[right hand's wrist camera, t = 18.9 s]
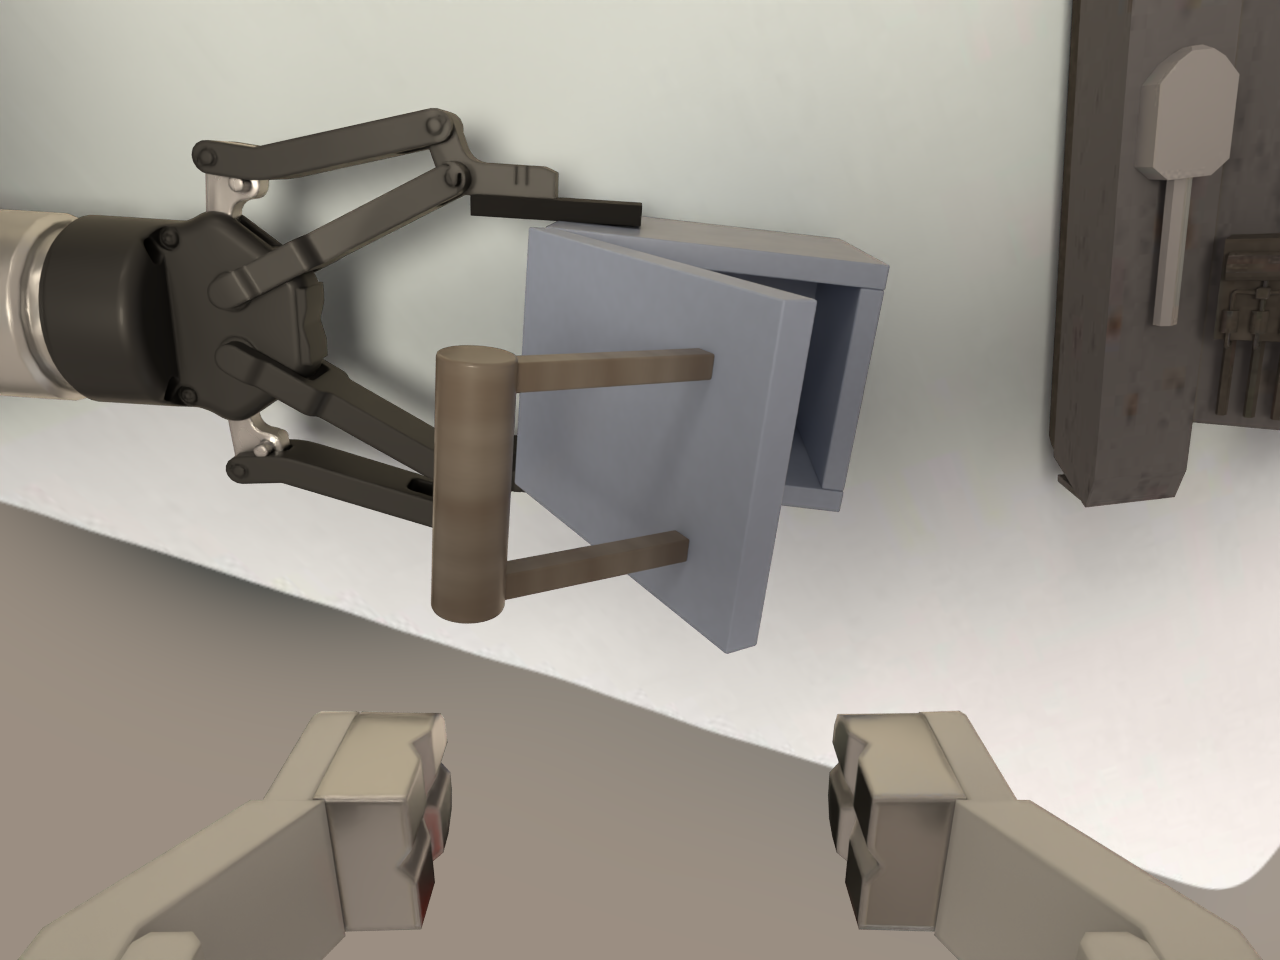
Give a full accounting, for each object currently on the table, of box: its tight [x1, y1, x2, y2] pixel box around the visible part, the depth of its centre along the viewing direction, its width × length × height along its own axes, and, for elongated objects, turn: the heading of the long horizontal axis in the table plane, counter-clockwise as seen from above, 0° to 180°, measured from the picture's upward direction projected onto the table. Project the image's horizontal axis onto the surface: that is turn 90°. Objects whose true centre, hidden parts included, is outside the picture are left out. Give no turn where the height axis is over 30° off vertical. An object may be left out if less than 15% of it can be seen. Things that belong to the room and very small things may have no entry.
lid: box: [431, 227, 817, 654], centre depth 24 cm, size 13×9×8 cm
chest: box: [546, 216, 889, 512], centre depth 37 cm, size 12×9×10 cm
